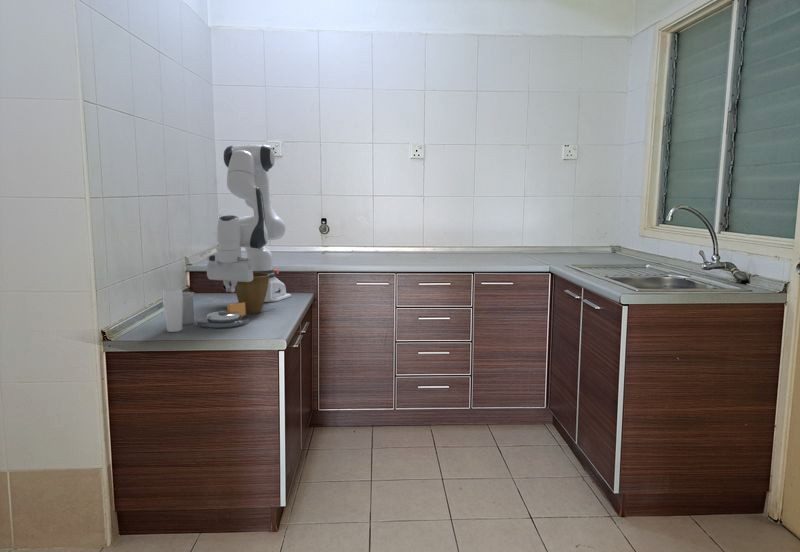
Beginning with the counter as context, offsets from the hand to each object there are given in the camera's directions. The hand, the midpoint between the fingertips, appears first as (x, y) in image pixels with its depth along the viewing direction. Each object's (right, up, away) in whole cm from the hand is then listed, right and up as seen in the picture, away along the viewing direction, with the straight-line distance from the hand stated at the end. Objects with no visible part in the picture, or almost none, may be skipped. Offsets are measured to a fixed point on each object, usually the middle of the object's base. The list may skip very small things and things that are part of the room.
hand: (230, 292), depth 231 cm
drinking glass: (-15, -14, -19) cm, 28 cm away
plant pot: (+5, -9, +14) cm, 18 cm away
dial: (0, -10, -5) cm, 11 cm away
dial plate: (-1, -12, -6) cm, 13 cm away
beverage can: (-15, -12, -7) cm, 21 cm away
